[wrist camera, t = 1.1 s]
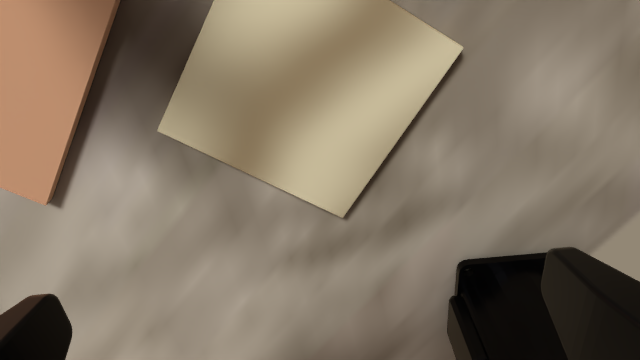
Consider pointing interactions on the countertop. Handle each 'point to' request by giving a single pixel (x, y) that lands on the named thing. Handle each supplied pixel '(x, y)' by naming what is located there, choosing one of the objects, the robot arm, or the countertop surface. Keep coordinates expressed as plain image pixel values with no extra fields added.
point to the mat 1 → (45, 85)
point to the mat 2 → (306, 90)
